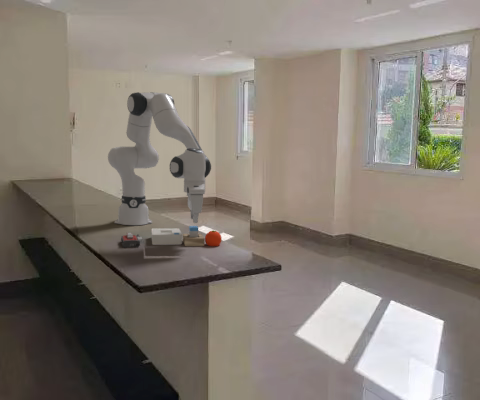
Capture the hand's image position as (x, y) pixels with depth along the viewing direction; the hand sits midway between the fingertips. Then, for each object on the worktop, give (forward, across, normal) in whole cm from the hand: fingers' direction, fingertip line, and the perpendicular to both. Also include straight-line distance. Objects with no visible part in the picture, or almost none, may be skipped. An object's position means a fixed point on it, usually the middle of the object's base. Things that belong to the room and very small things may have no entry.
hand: (194, 220), depth 205 cm
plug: (+10, 0, 0) cm, 10 cm away
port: (+10, -6, -11) cm, 16 cm away
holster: (+10, 0, 0) cm, 11 cm away
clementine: (+11, +2, +8) cm, 14 cm away
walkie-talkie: (+11, -8, -25) cm, 29 cm away
